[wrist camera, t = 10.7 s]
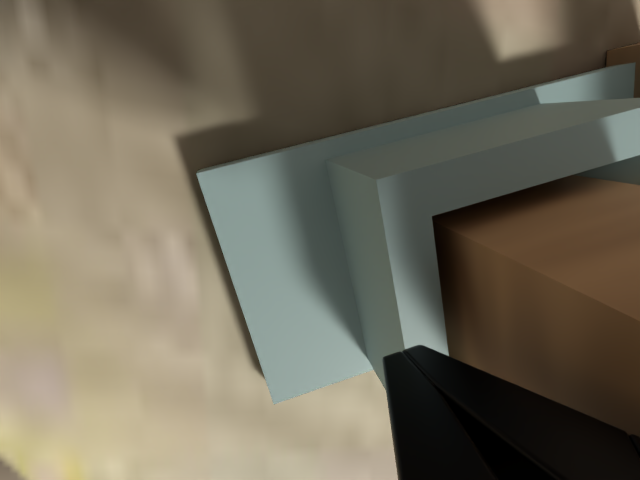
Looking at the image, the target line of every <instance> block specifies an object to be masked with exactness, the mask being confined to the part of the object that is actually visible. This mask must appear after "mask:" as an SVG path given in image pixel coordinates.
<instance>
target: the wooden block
mask: <svg viewBox="0 0 640 480" xmlns="http://www.w3.org/2000/svg"><path fill="white" fill-rule="evenodd" d="M432 222H433V230H434V239H435V247H436V255H437V263H438V271H439V279H440V287H441V295H442V303H443V312H444V320H445V328H446V336H447V344H448V352H449V356H450V357H452V358H454V359H457V360H459V361H462V362H464V363H466V364H469V365H471V366H473V367H476V368H478V369H480V370H483V371H485V372H488V373H490V374H492V375H495V376H497V377H499V378H502V379H504V380H506V381H509V382H511V383H513V384H516V385H518V386H521V387H523V388H525V389H528V390H530V391H532V392H535V393H537V394H539V395H542V396H544V397H546V398H549V399H551V400H554V401H556V402H558V403H561V404H563V405H565V406H568V407H570V408H572V409H575V410H577V411H580V412H582V413H584V414H587V415H589V416H591V417H594V418H596V419H598V420H601V421H603V422H605V423H608V424H610V425H613V426H615V427H617V428H620V429H622V430H624V431H626V432H627V434H628V435H631V434H634V435H637V436H639V437H640V185H635V184H629V183H622V182H616V181H609V180H603V179H596V178H590V177H583V176H576V175H570V176H567V177H563V178H560V179H556V180H553V181H550V182H546V183H543V184H539V185H536V186H533V187H529V188H526V189H522V190H519V191H516V192H512V193H509V194H505V195H502V196H499V197H495V198H492V199H488V200H485V201H482V202H478V203H475V204H471V205H468V206H465V207H461V208H458V209H454V210H451V211H448V212H444V213H441V214H437V215H434V216H432Z"/></svg>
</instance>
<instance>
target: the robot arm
mask: <svg viewBox="0 0 640 480" xmlns="http://www.w3.org/2000/svg"><path fill="white" fill-rule="evenodd" d="M382 363H383V371H384V378H385V386H386V393H387V401H388V408H389V415H390V423H391V430H392V438H393V445H394V452H395V460H396V467H397V475H398V480H640V437H639V436H637V435H634V434H631V435H628V434H627V432H626V431H624V430H622V429H620V428H617V427H615V426H613V425H610V424H608V423H605V422H603V421H601V420H598V419H596V418H594V417H591V416H589V415H587V414H584V413H582V412H580V411H577V410H575V409H572V408H570V407H568V406H565V405H563V404H561V403H558V402H556V401H554V400H551V399H549V398H546V397H544V396H542V395H539V394H537V393H535V392H532V391H530V390H528V389H525V388H523V387H521V386H518V385H516V384H513V383H511V382H509V381H506V380H504V379H502V378H499V377H497V376H495V375H492V374H490V373H488V372H485V371H483V370H480V369H478V368H476V367H473V366H471V365H469V364H466V363H464V362H462V361H459V360H457V359H454V358H452V357H450V356H447V355H445V354H443V353H440V352H438V351H436V350H433V349H431V348H429V347H426V346H424V345H416V346H413V347H410V348H407V349H404V350H403V351H402V352H400V351H398V352H395V353H392V354H389V355H386V356H384V357H383V358H382Z"/></svg>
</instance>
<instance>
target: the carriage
mask: <svg viewBox="0 0 640 480" xmlns="http://www.w3.org/2000/svg"><path fill="white" fill-rule="evenodd" d="M635 64H636V62H635V63H628V64H621V65H614V66H609V67H605V68H601V69H597V70H593V71H589V72H585V73H581V74H577V75H573V76H569V77H565V78H561V79H557V80H554V81H550V82H546V83H542V84H538V85H534V86H530V87H526V88H522V89H518V90H514V91H510V92H506V93H502V94H498V95H494V96H490V97H486V98H482V99H478V100H474V101H470V102H466V103H462V104H458V105H454V106H450V107H446V108H442V109H438V110H434V111H430V112H426V113H422V114H418V115H414V116H410V117H406V118H402V119H398V120H395V121H391V122H387V123H383V124H379V125H375V126H371V127H367V128H363V129H359V130H355V131H351V132H347V133H343V134H339V135H335V136H331V137H327V138H323V139H319V140H315V141H311V142H307V143H303V144H299V145H295V146H291V147H287V148H283V149H279V150H275V151H271V152H267V153H263V154H259V155H255V156H251V157H247V158H243V159H240V160H236V161H232V162H228V163H224V164H220V165H216V166H212V167H208V168H204V169H200V170H198V171H197V173H196V175H197V178H198V181H199V184H200V187H201V190H202V192H203V195H204V198H205V201H206V204H207V207H208V210H209V213H210V216H211V219H212V222H213V225H214V228H215V231H216V234H217V237H218V240H219V243H220V246H221V249H222V252H223V255H224V258H225V261H226V264H227V267H228V270H229V273H230V276H231V279H232V282H233V285H234V288H235V290H236V293H237V296H238V299H239V302H240V305H241V308H242V311H243V314H244V317H245V320H246V323H247V326H248V329H249V332H250V335H251V338H252V341H253V344H254V347H255V350H256V353H257V356H258V359H259V362H260V365H261V368H262V371H263V374H264V377H265V380H266V383H267V386H268V388H269V391H270V394H271V397H272V400H273V403H274V404H276V403H279V402H282V401H285V400H288V399H291V398H294V397H296V396H299V395H302V394H305V393H308V392H311V391H314V390H317V389H319V388H322V387H325V386H328V385H331V384H334V383H337V382H339V381H342V380H345V379H348V378H351V377H354V376H357V375H360V374H362V373H365V372H368V371H371V370H374V371H375V372H376V374H377V376H378V377H379V379H380V381H381V383H382V384H383V386H384V388H385V390H386V386H385V378H384V371H383V363H382V358H383V357H384V356H386V355H389V354H392V353H395V352H398V351H400V352H402V351H403V350H404V349H407V348H410V347H413V346H416V345H424V346H426V347H429V348H431V349H433V350H436V351H438V352H440V353H443V354H445V355H447V356H449V352H448V344H447V336H446V328H445V320H444V312H443V303H442V295H441V287H440V279H439V271H438V263H437V255H436V247H435V239H434V230H433V222H432V216H434V215H437V214H441V213H444V212H448V211H451V210H454V209H458V208H461V207H465V206H468V205H471V204H475V203H478V202H482V201H485V200H488V199H492V198H495V197H499V196H502V195H505V194H509V193H512V192H516V191H519V190H522V189H526V188H529V187H533V186H536V185H539V184H543V183H546V182H550V181H553V180H556V179H560V178H563V177H567V176H570V175H576V176H583V177H590V178H596V179H603V180H609V181H616V182H622V183H629V184H635V185H640V98H633V95H634V80H635Z"/></svg>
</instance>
